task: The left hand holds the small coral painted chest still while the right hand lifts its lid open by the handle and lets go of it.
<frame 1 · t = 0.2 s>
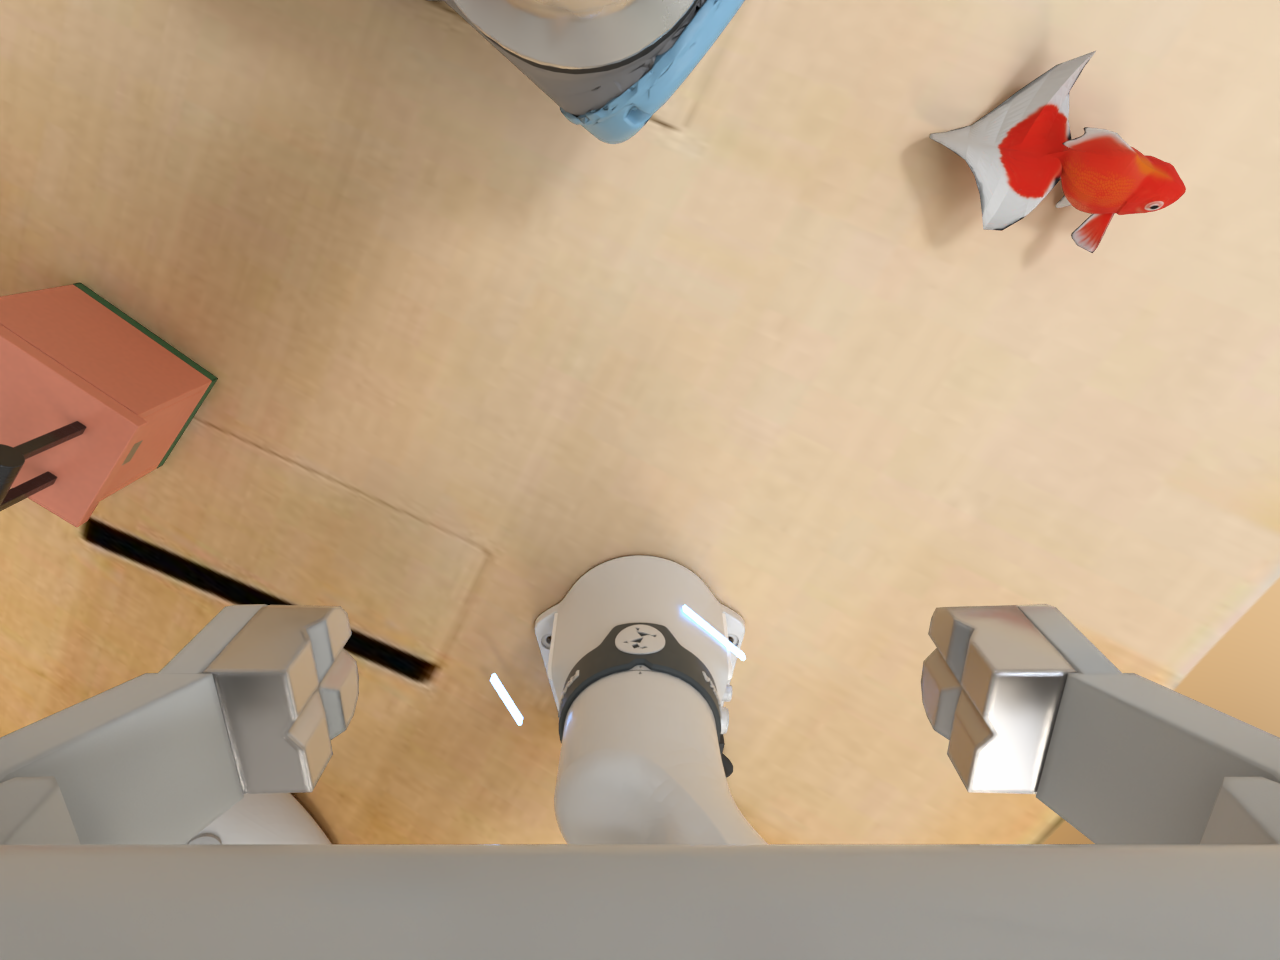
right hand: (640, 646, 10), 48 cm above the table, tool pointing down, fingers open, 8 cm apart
chest: (123, 378, 58), on the table
fish: (1020, 168, 52), on the table
grey plastic housing: (254, 815, 74), on the table
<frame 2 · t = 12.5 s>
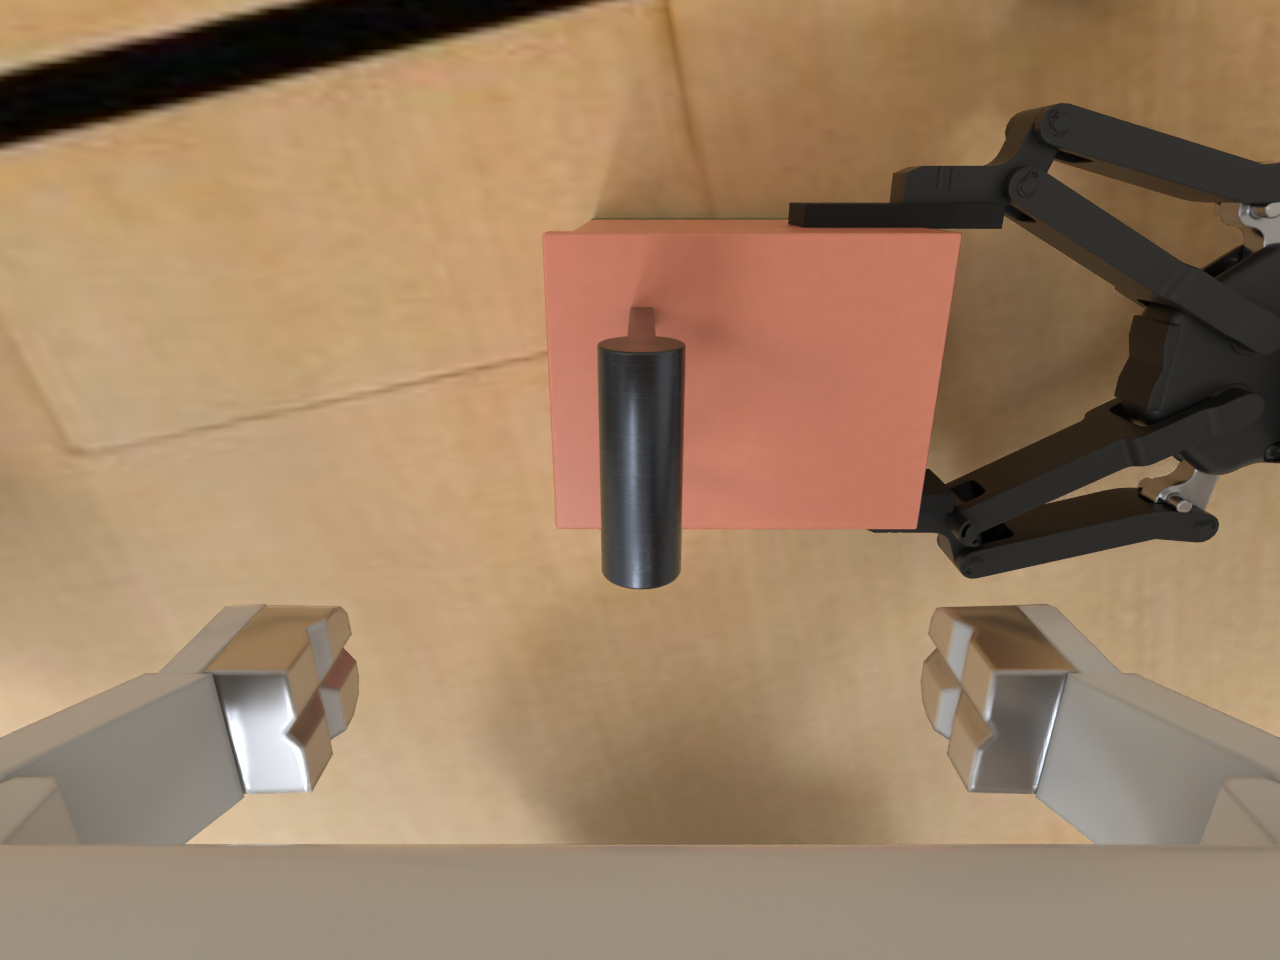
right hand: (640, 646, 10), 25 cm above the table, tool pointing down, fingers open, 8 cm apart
left hand: (785, 362, 27), fingers closed on chest, 9 cm apart
chest: (721, 330, 33), on the table, touching left hand
lid: (758, 422, 20), point 14 cm above the table, hinge at 0.0°
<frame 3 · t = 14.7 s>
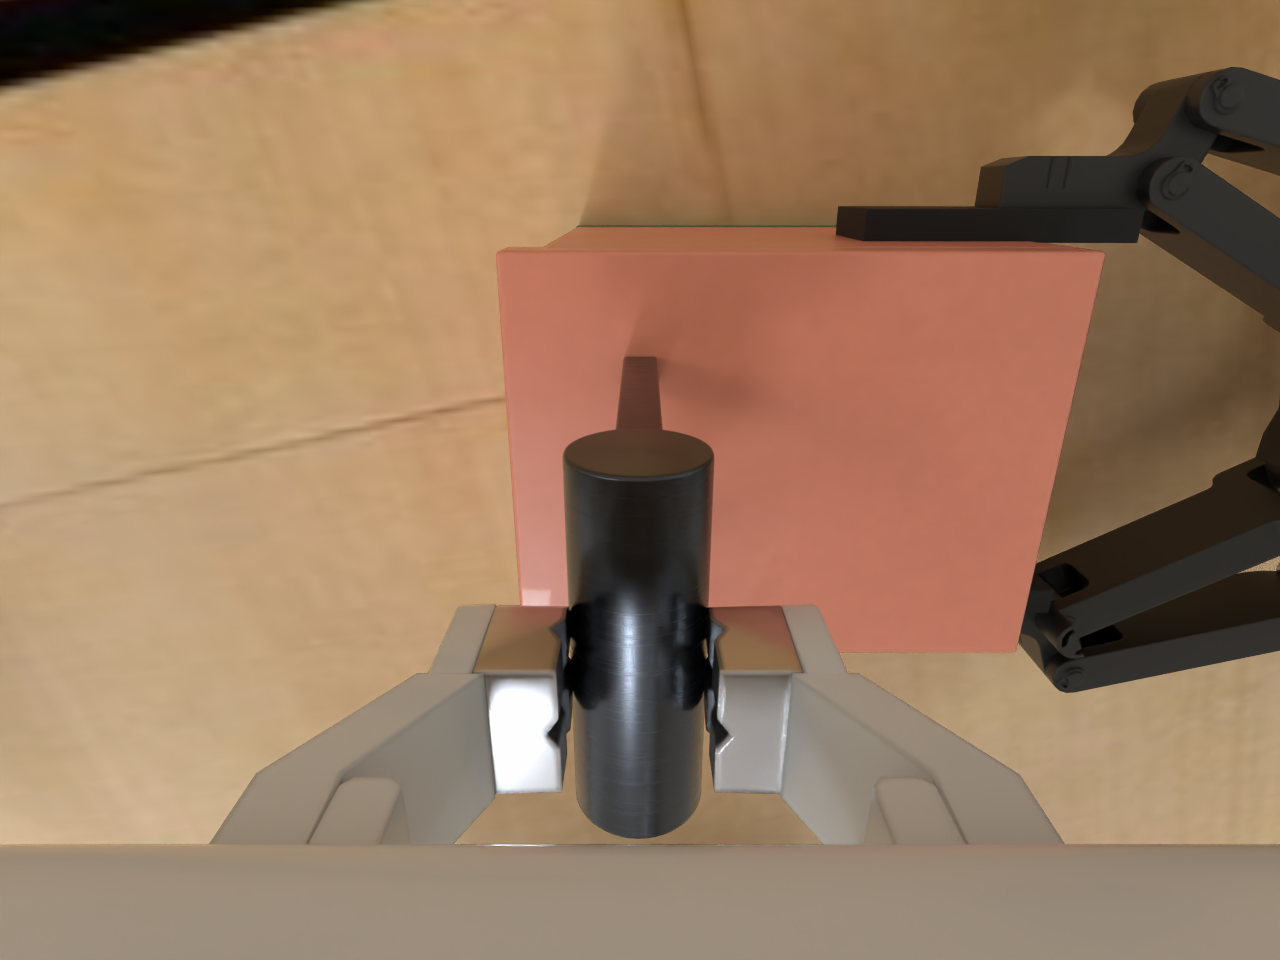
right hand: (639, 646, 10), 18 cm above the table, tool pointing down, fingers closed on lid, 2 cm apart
chest: (739, 364, 26), on the table, touching left hand
lid: (814, 536, 13), point 14 cm above the table, hinge at -0.1°, touching right hand
when the left hand's fingers open (7 cm above the table, at t = 21.1 s): chest stays where it is, on the table.
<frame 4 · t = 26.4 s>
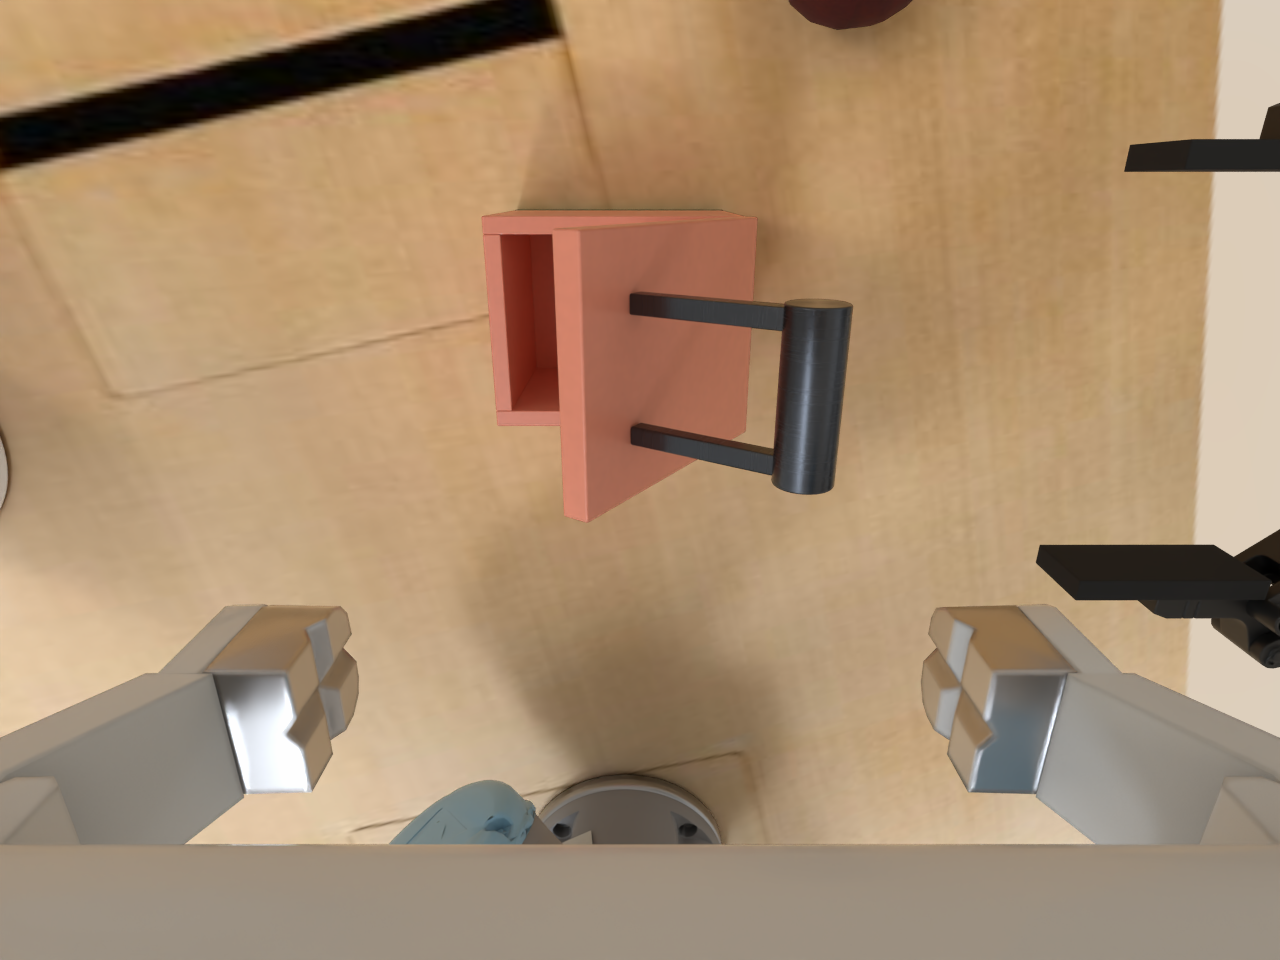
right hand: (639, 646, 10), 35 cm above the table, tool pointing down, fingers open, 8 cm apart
chest: (620, 297, 43), on the table
lid: (757, 364, 26), point 18 cm above the table, hinge at 56.3°
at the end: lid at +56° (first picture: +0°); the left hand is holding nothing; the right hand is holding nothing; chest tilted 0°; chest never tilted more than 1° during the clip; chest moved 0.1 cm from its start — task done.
